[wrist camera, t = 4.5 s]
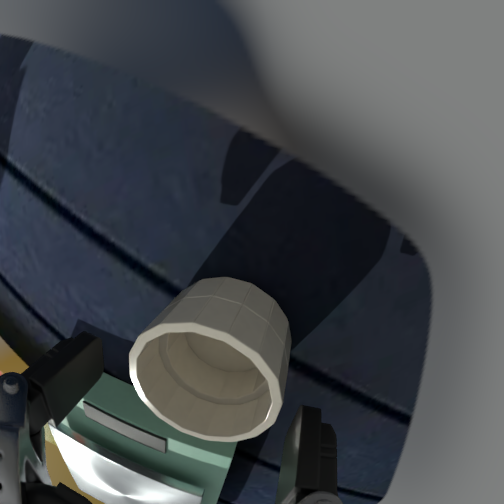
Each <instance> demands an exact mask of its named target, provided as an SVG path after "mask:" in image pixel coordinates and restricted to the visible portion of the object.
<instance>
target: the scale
mask: <svg viewBox="0 0 504 504" xmlns="http://www.w3.org/2000/svg"><path fill="white" fill-rule="evenodd" d="M61 423H63V424H64V425H66V426H67V427H69V428H71V429H72V430H74V431H76V432H77V433H79V434H81V435H83V436H84V437H86V438H88V439H90V440H91V441H93V442H95V443H97V444H99V445H101V446H102V447H104V448H106V449H108V450H110V451H112V452H114V453H116V454H118V455H120V456H122V457H124V458H127V459H129V460H131V461H133V462H135V463H137V464H140V465H142V466H144V467H147V468H149V469H151V470H154V471H156V472H159V473H161V474H164V475H166V476H169V477H172V478H174V479H177V480H180V481H183V482H186V483H189V484H192V485H195V486H198V487H201V488H204V489H205V492H204V496H203V500H202V504H216V503H217V500H218V498H219V495H220V492H221V489H222V487H223V484H224V481H225V478H226V475H227V472H228V469H229V467H230V464H231V461H232V458H233V455H234V451H235V448H236V445H237V442H238V441H236V442H220V441H208V440H204V439H201V438H198V437H195V436H192V435H189V434H186V433H183V432H181V431H179V430H177V429H176V428H174V427H172V426H171V425H169V424H168V423H166V422H165V421H163V420H162V419H160V418H159V417H157V416H156V415H155V414H154V413H153V412H152V410H151V409H150V408H149V407H148V406H147V405H146V404H145V403H144V402H143V401H142V400H141V398H140V397H139V395H138V393H137V391H136V389H135V387H134V386H132V385H130V384H128V383H125V382H123V381H121V380H119V379H117V378H114V377H112V376H110V375H108V374H106V373H104V372H103V374H102V376H101V378H100V379H99V380H98V382H97V383H96V384H95V385H94V386H93V387H92V388H91V389H90V390H89V392H88V393H87V394H86V395H85V396H84V397H83V398H82V399H81V400H80V402H79V403H78V404H77V405H76V406H75V407H74V408H73V409H72V411H71V412H70V413H69V414H68V415H67V416H66V417H65V419H64V420H63V421H62V422H61Z"/></svg>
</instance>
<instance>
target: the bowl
mask: <svg viewBox="0 0 504 504" xmlns="http://www.w3.org/2000/svg"><path fill="white" fill-rule="evenodd" d="M291 342H292V341H291V334H290V328H289V322H288V319H287V317H286V316H285V314H284V313H283V311H282V310H281V308H280V307H279V305H278V304H277V302H276V301H275V300H274V299H273V298H272V297H270V296H269V295H268V294H266V293H265V292H263V291H262V290H261V289H259V288H258V287H256V286H255V285H253V284H252V283H248V282H245V281H241V280H237V279H234V278H230V277H218V278H208V279H202V280H199V281H198V282H196V283H194V284H192V285H191V286H189V287H187V288H186V289H184V290H183V291H182V292H181V293H180V294H179V295H178V296H177V297H176V298H175V299H174V300H173V301H172V302H171V303H170V304H169V305H168V306H167V307H166V308H165V309H164V310H163V311H162V312H161V313H160V314H159V315H158V316H157V317H156V318H155V319H154V320H153V321H152V322H151V323H150V324H149V325H148V326H147V327H146V328H145V330H144V331H143V332H142V333H141V334H140V335H139V336H138V338H137V340H136V341H135V343H134V345H133V347H132V349H131V351H130V352H129V373H130V378H131V380H132V382H133V384H134V386H135V389H136V391H137V393H138V395H139V397H140V398H141V400H142V401H143V402H144V403H145V404H146V405H147V406H148V407H149V408H150V409H151V410H152V412H153V413H154V414H155V415H156V416H157V417H159V418H160V419H162V420H163V421H165V422H166V423H168V424H169V425H171V426H172V427H174V428H176V429H177V430H179V431H181V432H183V433H186V434H189V435H192V436H195V437H198V438H201V439H204V440H208V441H220V442H236V441H241V440H245V439H249V438H253V437H256V436H258V435H259V434H261V433H262V432H263V431H265V430H266V429H268V428H269V427H270V426H272V425H273V424H274V423H275V421H276V419H277V416H278V414H279V412H280V409H281V407H282V404H283V398H284V392H285V385H286V379H287V372H288V364H289V357H290V350H291Z"/></svg>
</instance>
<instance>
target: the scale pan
mask: <svg viewBox="0 0 504 504" xmlns="http://www.w3.org/2000/svg"><path fill="white" fill-rule="evenodd" d="M48 425H49V427H50V430H51V432H52V434H53V437H54V439H55V441H56V444H57V446H58V448H59V450H60V452H61V454H62V457H63V459H64V461H65V463H66V465H67V467H68V468H69V470H70V472H71V474H72V476H73V478H74V480H75V482H76V484H77V485H78V487H79V489H80V490H82V491H84V492H86V493H87V494H89V495H91V496H93V497H94V498H96V499H98V500H100V501H102V502H104V503H106V504H202V500H203V496H204V492H205V489H204V488H201V487H198V486H195V485H192V484H189V483H186V482H183V481H180V480H177V479H174V478H172V477H169V476H166V475H164V474H161V473H159V472H156V471H154V470H151V469H149V468H147V467H144V466H142V465H140V464H137V463H135V462H133V461H131V460H129V459H127V458H124V457H122V456H120V455H118V454H116V453H114V452H112V451H110V450H108V449H106V448H104V447H102V446H101V445H99V444H97V443H95V442H93V441H91V440H90V439H88V438H86V437H84V436H83V435H81V434H79V433H77V432H76V431H74V430H72V429H71V428H69V427H67V426H66V425H64V424H63V423H60V424H59V425H58V426H57V428H56V427H54V426H53V425H51V424H50V423H48Z"/></svg>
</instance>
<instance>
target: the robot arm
mask: <svg viewBox="0 0 504 504" xmlns="http://www.w3.org/2000/svg"><path fill="white" fill-rule="evenodd" d="M103 370H104V360H103V348H102V340H101V338H99V337H97V336H95V335H92V334H90V333H88V332H86V331H83V332H82V333H80V334H79V335H78V336H77V337H75V338H74V339H73V338H68V339H66V340H63V341H60V342H59V343H58V344H56V345H55V346H54V347H53V348H52V350H51V349H50V350H49V351H48V352H47V353H46V355H43V356H42V357H41V358H39V359H38V360H37V361H36V362H35V363H33V364H32V365H31V366H30V367H29V368H28V369H26V370H25V371H24V372H23V373H21V374H19V373H15V372H9V373H5V374H3V375H1V376H0V504H92V503H91V502H90V501H89V500H88V499H87V498H85V497H84V496H82V495H80V494H78V493H77V492H75V491H74V490H72V489H70V488H69V487H67V486H66V485H64V484H62V483H61V482H60V483H59V484H58V485H57V487H56V486H52V485H51V480H50V477H49V474H48V471H47V466H46V455H45V431H44V425H45V424H46V423H47V422H48V423H50V424H51V425H53V426H54V427H56V428H57V426H58V425H59V424H60V423H61V422H62V421H63V420H64V419H65V417H66V416H67V415H68V414H69V413H70V412H71V411H72V409H73V408H74V407H75V406H76V405H77V404H78V403H79V402H80V400H81V399H82V398H83V397H84V396H85V395H86V394H87V393H88V392H89V390H90V389H91V388H92V387H93V386H94V385H95V384H96V383H97V382H98V380H99V379H100V378H101V376H102V374H103ZM336 447H337V440H336V434H335V432H334V430H333V428H332V426H331V424H326V423H321V409H319V408H314V407H309V406H304V405H300V407H299V409H298V411H297V413H296V415H295V417H294V419H293V421H292V423H291V425H290V427H289V429H288V432H287V435H286V438H285V442H284V449H283V456H282V463H281V470H280V476H279V482H278V489H277V495H276V501H275V504H343V503H342V501H341V500H340V499H339V497H338V494H337V458H336V457H337V449H336Z"/></svg>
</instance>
